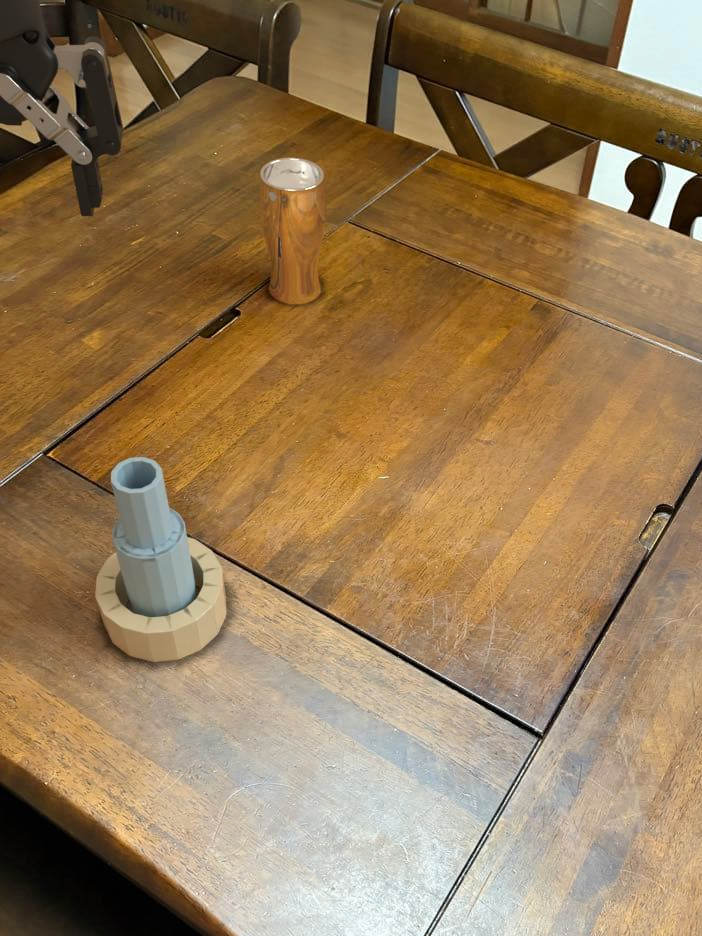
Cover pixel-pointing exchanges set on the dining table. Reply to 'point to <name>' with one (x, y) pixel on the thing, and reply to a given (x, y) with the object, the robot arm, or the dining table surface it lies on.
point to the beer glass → (293, 226)
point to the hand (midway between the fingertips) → (20, 209)
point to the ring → (166, 632)
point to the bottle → (150, 541)
